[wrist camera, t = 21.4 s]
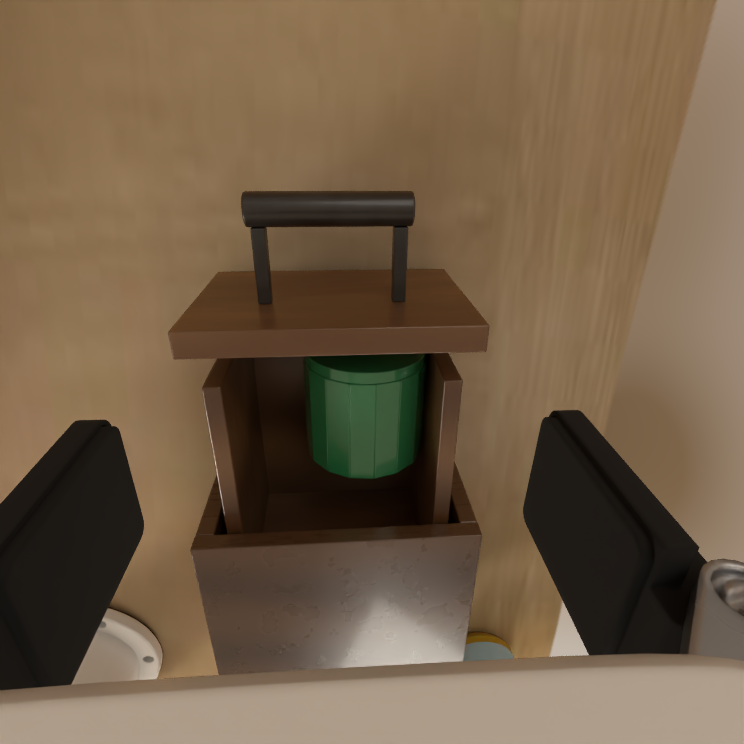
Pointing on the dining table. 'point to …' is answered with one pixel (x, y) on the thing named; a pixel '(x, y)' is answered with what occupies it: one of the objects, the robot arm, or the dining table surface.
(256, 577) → the cabinet
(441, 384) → the drawer
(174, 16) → the dining table surface
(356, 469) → the pot
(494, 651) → the bottle
